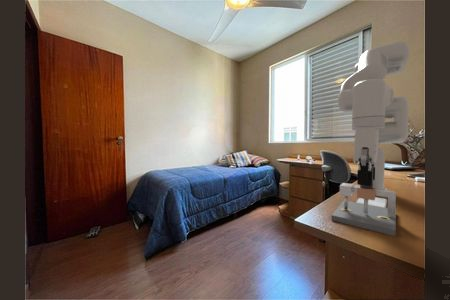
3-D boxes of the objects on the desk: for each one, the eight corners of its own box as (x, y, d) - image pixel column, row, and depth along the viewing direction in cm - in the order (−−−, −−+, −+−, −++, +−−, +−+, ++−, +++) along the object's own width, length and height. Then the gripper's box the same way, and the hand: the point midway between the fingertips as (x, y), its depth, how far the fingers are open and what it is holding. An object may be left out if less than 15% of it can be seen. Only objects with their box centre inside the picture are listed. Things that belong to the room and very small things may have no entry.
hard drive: (360, 194, 75) (355, 202, 66) (387, 198, 70) (385, 207, 61) (360, 198, 76) (355, 206, 67) (387, 203, 70) (385, 212, 61)
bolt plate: (343, 204, 67) (343, 200, 67) (395, 214, 58) (395, 209, 58) (331, 220, 54) (331, 214, 54) (395, 236, 45) (395, 229, 45)
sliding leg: (358, 209, 57) (359, 166, 56) (374, 213, 54) (375, 167, 53) (356, 212, 54) (357, 167, 54) (374, 216, 52) (375, 169, 51)
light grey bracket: (342, 206, 61) (342, 182, 61) (395, 216, 52) (395, 189, 52) (339, 210, 58) (339, 185, 57) (395, 222, 49) (395, 192, 48)
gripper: (356, 126, 62) (355, 176, 63) (346, 123, 49) (345, 185, 50) (385, 125, 57) (384, 179, 58) (383, 120, 44) (381, 190, 45)
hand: (366, 182), depth 54 cm, fingers open, 9 cm apart
